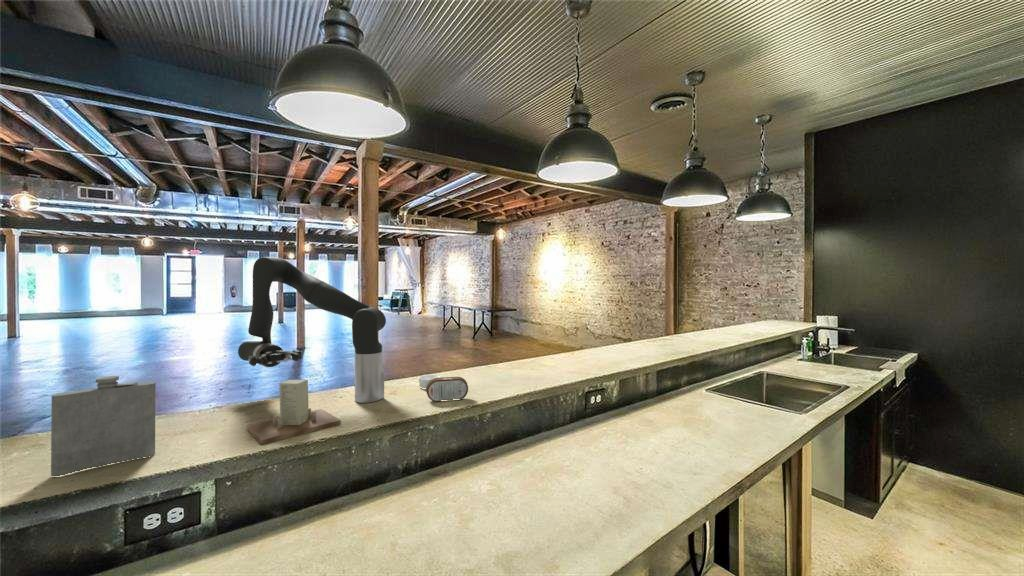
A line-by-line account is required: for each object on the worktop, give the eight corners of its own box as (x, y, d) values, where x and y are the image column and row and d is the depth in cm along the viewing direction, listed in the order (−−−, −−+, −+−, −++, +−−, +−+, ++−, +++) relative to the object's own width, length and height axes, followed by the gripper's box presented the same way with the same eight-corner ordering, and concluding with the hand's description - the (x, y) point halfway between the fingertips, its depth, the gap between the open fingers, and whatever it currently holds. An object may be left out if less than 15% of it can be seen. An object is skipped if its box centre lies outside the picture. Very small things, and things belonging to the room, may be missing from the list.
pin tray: (321, 412, 119) (321, 401, 119) (340, 424, 109) (340, 411, 109) (247, 429, 105) (247, 416, 105) (261, 444, 95) (261, 430, 95)
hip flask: (49, 480, 77) (50, 384, 77) (53, 472, 80) (54, 381, 80) (155, 456, 88) (155, 373, 88) (155, 450, 91) (155, 370, 91)
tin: (467, 397, 136) (467, 375, 136) (468, 400, 133) (468, 377, 133) (426, 401, 132) (426, 377, 132) (426, 403, 129) (426, 379, 129)
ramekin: (443, 388, 149) (443, 377, 149) (422, 391, 144) (422, 380, 144) (436, 383, 157) (436, 373, 157) (415, 386, 152) (415, 376, 152)
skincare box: (309, 420, 109) (309, 379, 109) (298, 425, 104) (299, 383, 104) (289, 419, 109) (289, 378, 110) (278, 424, 105) (278, 382, 105)
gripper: (242, 346, 122) (255, 351, 111) (290, 341, 132) (306, 345, 121) (243, 369, 122) (255, 376, 111) (291, 362, 132) (307, 367, 121)
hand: (282, 359), depth 116 cm, fingers open, 8 cm apart
